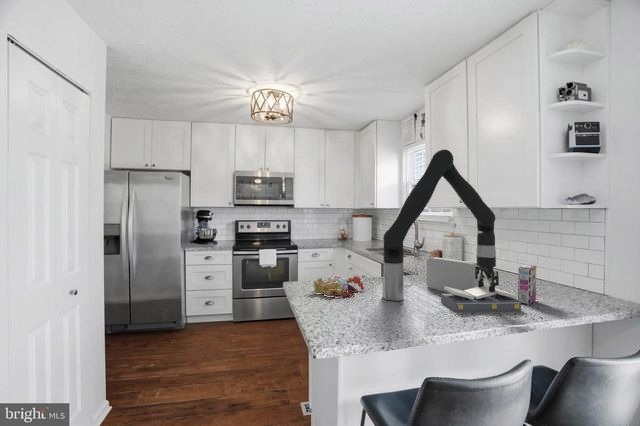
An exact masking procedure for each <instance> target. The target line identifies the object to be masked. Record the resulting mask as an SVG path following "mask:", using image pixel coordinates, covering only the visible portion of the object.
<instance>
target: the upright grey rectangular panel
mask: <svg viewBox="0 0 640 426" xmlns="http://www.w3.org/2000/svg"><path fill="white" fill-rule="evenodd" d="M476 266H477V262H474V261H466V260H460V259H459V260H458V259H451V258H445V257H436V256H435V257H429V258H427V259H426V286H427V288H430V289H433V290H437V291H441V292H444V293H447V294H452V293H451V292H449V291H447V290H445V289H444V286H446V287H450V288H454V289H458V290H462V291H464V290H467V289H471V288H475V287H478V281H477V279H475V267H476ZM477 277H478V275H477Z"/></svg>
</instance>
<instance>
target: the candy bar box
mask: <svg viewBox="0 0 640 426" xmlns="http://www.w3.org/2000/svg"><path fill="white" fill-rule="evenodd" d="M517 284H518V287H517V288H518V291H517V292H518V293H517V294H518V295H517V296H518V298H517V300H519V301H521V305H527V306H530V305H532V304H533V303H534V302H535V301H536V299H537V295H536V293H537V265H532V264H524V265H521V266H518V283H517Z"/></svg>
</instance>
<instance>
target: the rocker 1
mask: <svg viewBox="0 0 640 426" xmlns="http://www.w3.org/2000/svg"><path fill="white" fill-rule="evenodd" d="M444 289H445V290H447V291H449V292H451V293H450V294H454V295H458V296H462V297H466V298H470V299H474V296H472V295H470V294H468V293H466V292H464V291H462V290H458V289H454V288H450V287H446V286H444Z"/></svg>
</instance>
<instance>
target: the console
mask: <svg viewBox="0 0 640 426" xmlns="http://www.w3.org/2000/svg"><path fill="white" fill-rule="evenodd" d="M440 303H441V304H442V305H444V306H446V307H447V308H448V309H450V310H451V311H453V312H455V313H463V312H465V313H467V312H469V313H470V312H477V313H478V312H521V311H522V304H521V301H519V300H518V298H517V299H516V298H512V297H508V296H504V295H500V294H497V293H496V294H495V295H491V296H487V297H483V298H480V299H475V298H474V299H470V298H466V297H462V296H458V295H454V294H452V293H440Z"/></svg>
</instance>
